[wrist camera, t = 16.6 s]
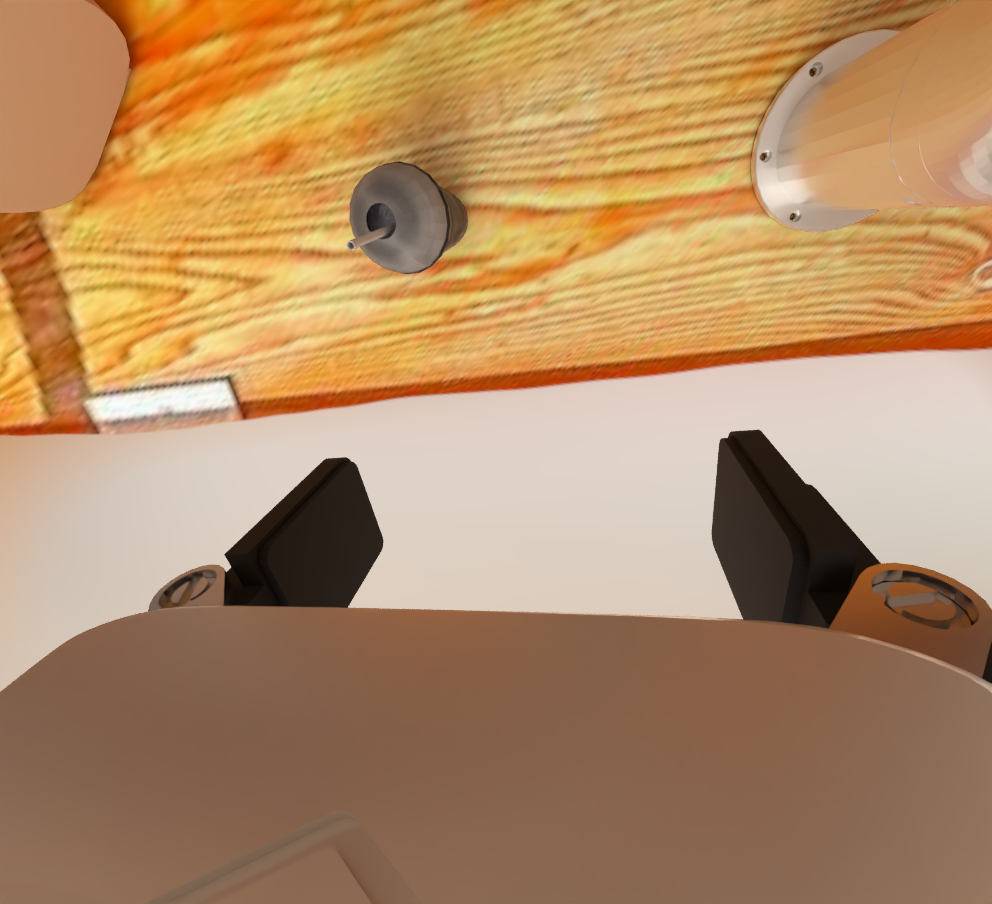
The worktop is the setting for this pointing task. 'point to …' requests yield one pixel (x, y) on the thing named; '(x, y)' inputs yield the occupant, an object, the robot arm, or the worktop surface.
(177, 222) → the worktop surface
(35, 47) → the alarm clock
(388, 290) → the worktop surface
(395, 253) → the beverage cup
